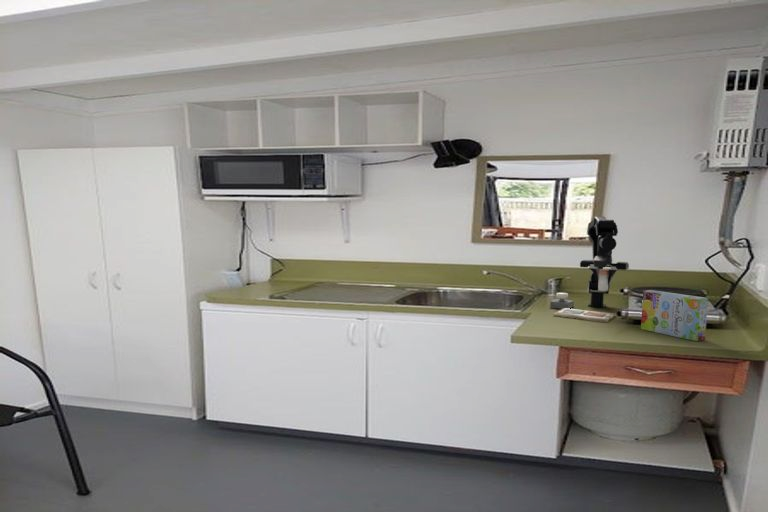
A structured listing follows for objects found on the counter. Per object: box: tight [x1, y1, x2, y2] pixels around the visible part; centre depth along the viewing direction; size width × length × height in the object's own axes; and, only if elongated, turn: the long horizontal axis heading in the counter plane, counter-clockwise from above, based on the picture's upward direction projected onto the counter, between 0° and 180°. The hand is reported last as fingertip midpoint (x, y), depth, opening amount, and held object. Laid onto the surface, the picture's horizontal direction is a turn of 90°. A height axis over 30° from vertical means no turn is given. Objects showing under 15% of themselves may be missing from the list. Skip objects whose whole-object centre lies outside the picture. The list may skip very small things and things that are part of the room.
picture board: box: [553, 308, 616, 323], centre depth 215 cm, size 15×21×1 cm
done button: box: [555, 292, 569, 302], centre depth 232 cm, size 5×5×5 cm
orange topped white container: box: [598, 268, 610, 291], centre depth 219 cm, size 4×4×9 cm
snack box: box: [640, 289, 709, 342], centre depth 183 cm, size 21×6×15 cm, turn 30°
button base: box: [549, 298, 575, 310], centre depth 233 cm, size 8×8×3 cm
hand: (603, 284), depth 219 cm, fingers closed on orange topped white container, 4 cm apart
